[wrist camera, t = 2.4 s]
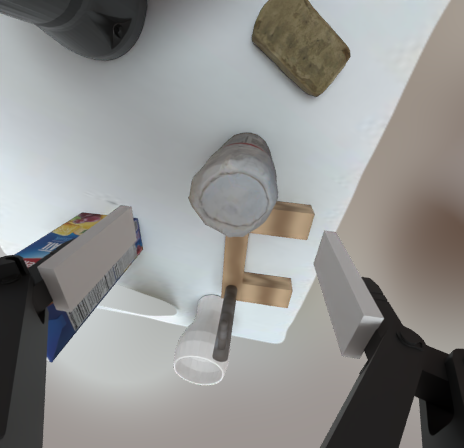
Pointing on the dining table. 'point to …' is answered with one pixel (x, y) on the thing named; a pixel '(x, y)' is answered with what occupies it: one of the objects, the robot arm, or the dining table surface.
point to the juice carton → (68, 323)
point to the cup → (201, 345)
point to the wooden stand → (257, 285)
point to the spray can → (236, 186)
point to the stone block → (300, 44)
